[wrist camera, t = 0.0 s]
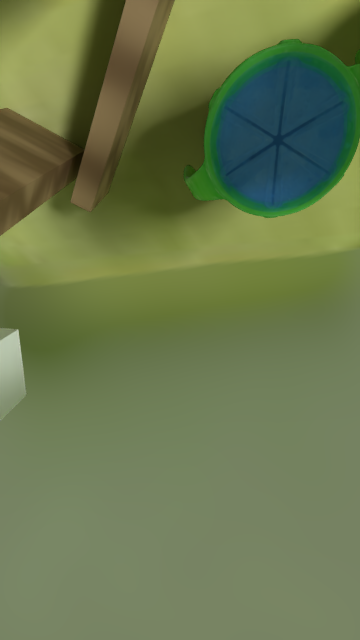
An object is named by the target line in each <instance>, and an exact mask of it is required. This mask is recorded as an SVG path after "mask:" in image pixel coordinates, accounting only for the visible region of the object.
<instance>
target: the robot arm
mask: <svg viewBox="0 0 360 640" xmlns="http://www.w3.org/2000/svg"><path fill="white" fill-rule="evenodd" d="M25 396H26V388H25V380H24V373H23V365H22V356H21V348H20V341H19V332H18V329H6V328H0V420H1V419H3V418H4V417H5V415H6V414H7V413H9V412H10V411H11V410H12V408H14V407H15V406H16V405H17V404H18V403H19V402H20V401H21V400H22V399H23V397H25Z"/></svg>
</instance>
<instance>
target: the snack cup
mask: <svg viewBox="0 0 360 640" xmlns="http://www.w3.org/2000/svg"><path fill="white" fill-rule="evenodd" d="M208 106H209V113H208V117H207V120H206V126H205V133H204V154H205V160H204V163H203V164H202V166H201V167H200V168H199V169H198V170H197V171H195V169H194V168H193V167H192V166H190V165H187V166H186V167H185V169H184V181H185V183H186V185H187V186H188V187H189V189H190V191H191V192H192V195H193V196H194V197H195V198H196V199H198V200H203V201H207V200H218V199H225V200H227V201H228V202H230V203H231V204H232V205H234V206H235V207H237V208H238V209H240V210H242V211H244V212H246V213H249V214H253V215H257V216H263V217H265V218H274V217H277V216H284V215H288V214H292V213H295V212H298V211H300V210H303V209H305V208H307V207H309V206H310V205H312V204H314V203H315V202H317V201H318V200H319V199H321V198H322V197H323V196H324V195H326V194H327V193H328V192H329V191H330V190H331V189H332V188H333V187H334V186H335V185H336V184H337V183H338V182H339V181H340V180H341V179H342V177H343V176H344V173H345V172H346V170H347V168H348V167H349V165H350V163H351V161H352V159H353V156H354V154H355V152H356V149H357V146H358V143H359V139H360V50H358V51H357V53H356V56H355V65H353V66H346V65H344V63H343V62H342V61H341V60H340V59H339V58H338V57H336V56H335V55H333V54H332V53H330V52H329V51H327V50H325V49H324V48H322V47H320V46H316V45H313V44H305V43H302V42H301V41H300V40H299V39H290V40H283V41H281V42H280V43H279V44H277V45H275V46H272V47H269V48H266V49H264V50H262V51H259V52H257V53H256V54H254V55H252V56H251V57H249V58H248V59H246V60H245V61H244V62H242V63H241V64H240V65H239V66H238V67H236V69H235V70H234V71H233V72H232V73H231V74H230V75H229V76H228V78H227V79H226V80H225V82H224V83H223V84H222V86H221V87H220V88H219V89H217V90H216V91H215V92H214V94H213V96H212V98H211V101H210V103H209V105H208Z"/></svg>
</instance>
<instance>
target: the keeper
mask: <svg viewBox="0 0 360 640" xmlns="http://www.w3.org/2000/svg"><path fill="white" fill-rule="evenodd" d="M174 1H175V0H126V2H125V6H124V9H123V13H122V17H121V20H120V24H119V27H118V31H117V35H116V38H115V42H114V46H113V49H112V53H111V56H110V60H109V64H108V67H107V71H106V74H105V78H104V82H103V85H102V89H101V93H100V96H99V100H98V103H97V107H96V111H95V114H94V118H93V122H92V125H91V129H90V132H89V136H88V140H87V143H86V147H85V150H84V149H82V148H81V147H79V146H77V145H75V144H73V143H71V142H69V141H68V140H66V139H64V138H62V137H60V136H58V135H57V134H55V133H53V132H51V131H49V130H47V129H45V128H44V127H42V126H40V125H38V124H36V123H34V122H32V121H31V120H29V119H27V118H25V117H23V116H21V115H20V114H18V113H16V112H14V111H12V110H10V109H8V108H4V109H0V236H1V235H2V234H3V233H5V232H6V231H7V230H9V229H10V228H11V227H13V226H14V225H15V224H17V223H18V222H19V221H20V220H22V219H23V218H24V217H26V216H27V215H28V214H30V213H31V212H32V211H34V210H35V209H36V208H38V207H39V206H40V205H42V204H43V203H44V202H46V201H47V200H48V199H50V198H51V197H52V196H54V195H55V194H56V193H57V192H59V191H60V190H61V189H63V188H64V187H65V186H67V185H68V184H69V183H71V182H72V181H73V180H75V179H76V178H77V179H76V183H75V187H74V190H73V194H72V198H71V201H70V202H71V203H73V204H75V205H77V206H79V207H81V208H83V209H85V210H87V211H89V212H91V211H92V210H93V209H94V208H95V207H96V206H97V205H98V203H99V202H100V201H101V200H102V199H103V198H104V197H105V196H106V195H107V194H108V191H109V189H110V186H111V183H112V180H113V177H114V174H115V171H116V168H117V165H118V162H119V160H120V157H121V154H122V151H123V148H124V145H125V142H126V139H127V136H128V134H129V131H130V128H131V125H132V122H133V119H134V116H135V113H136V110H137V108H138V105H139V102H140V99H141V96H142V93H143V90H144V87H145V84H146V81H147V79H148V76H149V73H150V70H151V67H152V64H153V61H154V58H155V55H156V53H157V50H158V47H159V44H160V41H161V38H162V35H163V32H164V29H165V27H166V24H167V21H168V18H169V15H170V12H171V9H172V6H173V3H174Z"/></svg>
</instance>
